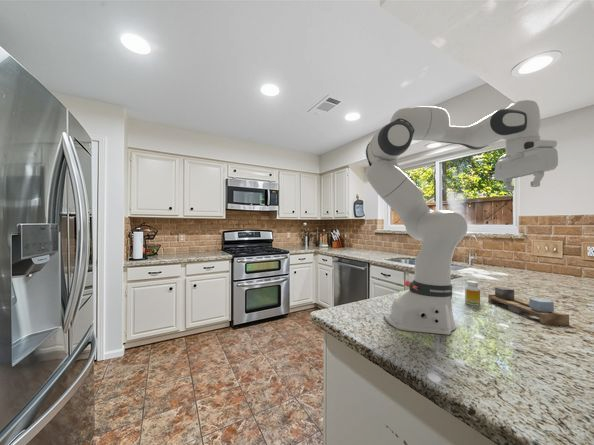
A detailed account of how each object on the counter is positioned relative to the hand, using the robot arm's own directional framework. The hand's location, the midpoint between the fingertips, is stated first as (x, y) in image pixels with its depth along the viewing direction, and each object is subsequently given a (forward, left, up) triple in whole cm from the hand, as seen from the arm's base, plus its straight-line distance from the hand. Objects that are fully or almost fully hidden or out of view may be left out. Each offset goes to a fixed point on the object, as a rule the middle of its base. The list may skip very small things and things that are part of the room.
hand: (521, 188), depth 84 cm
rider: (+13, +6, -45) cm, 47 cm away
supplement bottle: (-1, +22, -48) cm, 52 cm away
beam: (+13, +13, -47) cm, 51 cm away
